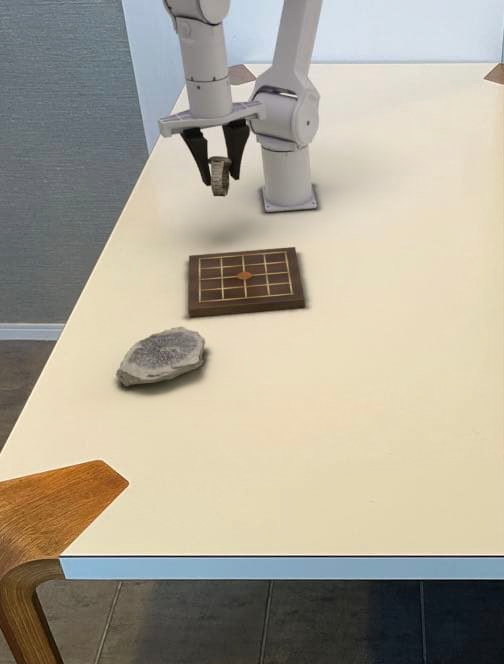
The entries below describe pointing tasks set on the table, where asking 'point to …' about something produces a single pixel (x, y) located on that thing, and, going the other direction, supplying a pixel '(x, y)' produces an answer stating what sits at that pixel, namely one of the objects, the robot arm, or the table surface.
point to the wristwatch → (220, 175)
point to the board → (244, 282)
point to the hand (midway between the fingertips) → (221, 180)
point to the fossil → (162, 357)
